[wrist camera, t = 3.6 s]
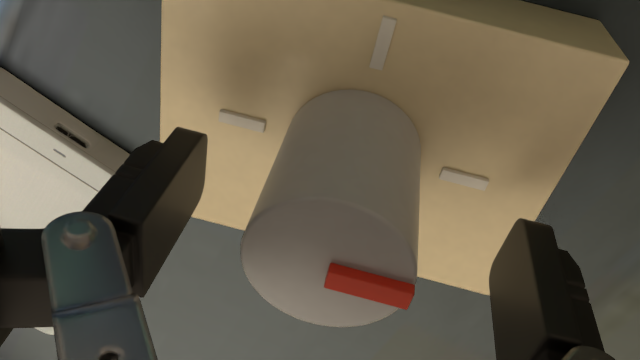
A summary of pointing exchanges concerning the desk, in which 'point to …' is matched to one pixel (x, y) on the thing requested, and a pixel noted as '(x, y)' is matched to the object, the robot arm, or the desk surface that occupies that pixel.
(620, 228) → the desk surface
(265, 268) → the dial
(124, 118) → the desk surface
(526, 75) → the panel
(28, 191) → the hard drive
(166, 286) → the desk surface
